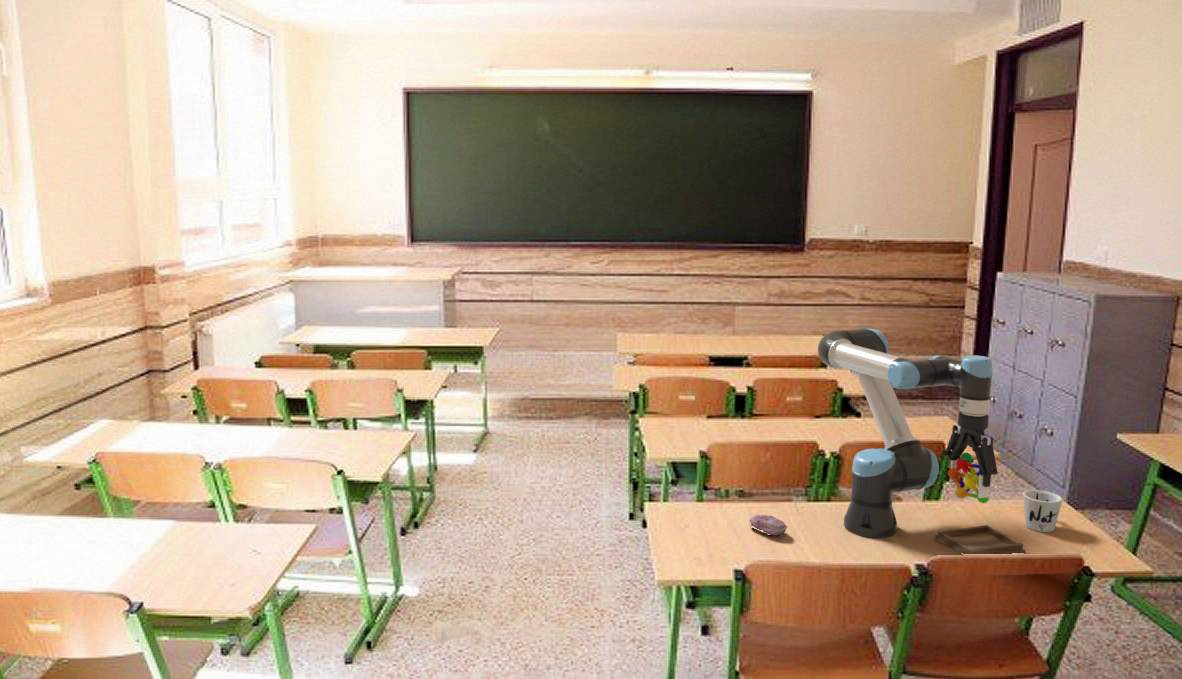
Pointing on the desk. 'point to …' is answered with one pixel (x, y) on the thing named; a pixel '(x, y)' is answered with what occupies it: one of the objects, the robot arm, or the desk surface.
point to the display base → (979, 541)
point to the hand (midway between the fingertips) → (968, 489)
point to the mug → (1041, 510)
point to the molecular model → (970, 479)
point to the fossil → (768, 524)
